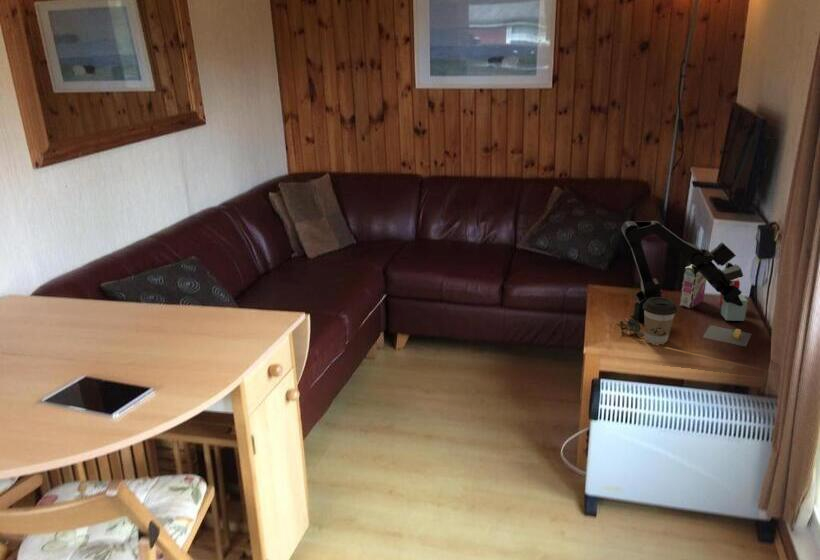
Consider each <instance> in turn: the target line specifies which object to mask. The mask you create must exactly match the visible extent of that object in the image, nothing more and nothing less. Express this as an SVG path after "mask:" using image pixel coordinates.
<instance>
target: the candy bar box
mask: <svg viewBox="0 0 820 560" xmlns="http://www.w3.org/2000/svg"><path fill="white" fill-rule="evenodd" d="M691 269H692V264H691V263H690V264H689V265H687V266H686V267H684V274H683V281H682V287H681V292H680V293H681V294H680V300H679V306H680V307H682V308H686V309H690V308H694V307H697V305H699V304H701V303H702V302H704V298H705V297H704V296H705V291H706V285H707V284H706V283H707V280H706V279H705V278H704V277H703V276H702V275H701V274H700V272H697V273H696V274H693V273H692V271H691Z"/></svg>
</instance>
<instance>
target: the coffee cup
mask: <svg viewBox="0 0 820 560" xmlns="http://www.w3.org/2000/svg"><path fill="white" fill-rule="evenodd" d="M643 309H644V321H645V322H644V335H645V338H644V339H646V340H645V342H646V341H648V342H649V343H648V342H647V343H648V344H650V343H653V344H664V345H665V343H667V341H668V340H669V336H670V333H671V330H672V326H673V322H674V318H675V315H676V314H677V312H678V307H677V306H676V303H675V301H673V300H672V299H671V298H667V297H662V296H661V297H651V298H648V299H647V300H646V302H645V303H644V304H643ZM653 344H652V345H653Z"/></svg>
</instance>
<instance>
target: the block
mask: <svg viewBox="0 0 820 560" xmlns="http://www.w3.org/2000/svg"><path fill="white" fill-rule="evenodd" d="M738 296H739V298H740V300H741V302H742V303H743V305H742V306H738V305H735V304H733V303H730V302H729V303H726V302H725V301H724V299H723V301H722V307H721V306H720V307H721V308H720V309H721V310H720V315H721V316H722V318H724V320H725V321H734V322H735V321H736V322H737V321H738V322H740V321H741V322H744V321H745V319H746V313H747V307H748V302H749V300H748V299H747V298H746V297H745V296H744V295H743V294H742V293H741V294H740V295H738Z"/></svg>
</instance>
